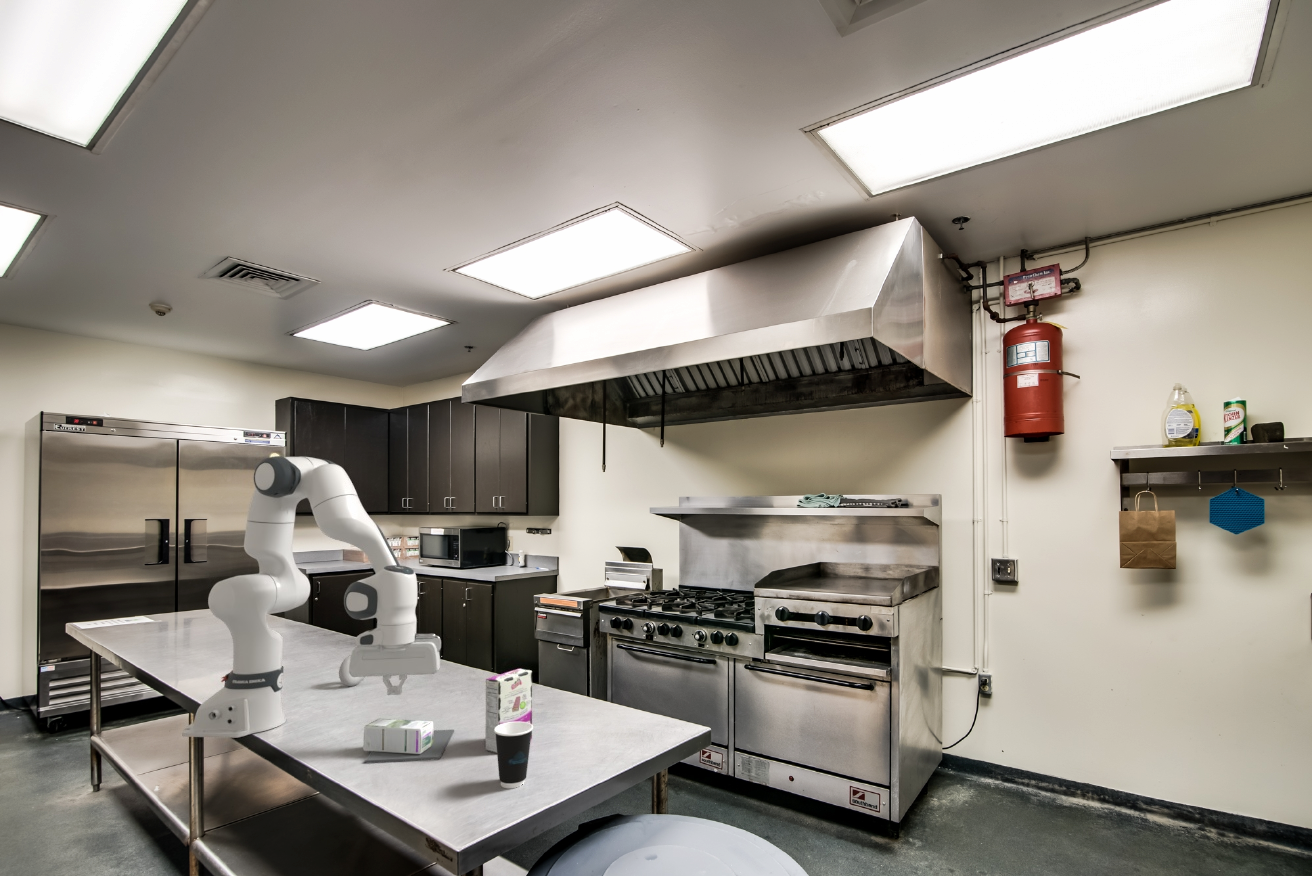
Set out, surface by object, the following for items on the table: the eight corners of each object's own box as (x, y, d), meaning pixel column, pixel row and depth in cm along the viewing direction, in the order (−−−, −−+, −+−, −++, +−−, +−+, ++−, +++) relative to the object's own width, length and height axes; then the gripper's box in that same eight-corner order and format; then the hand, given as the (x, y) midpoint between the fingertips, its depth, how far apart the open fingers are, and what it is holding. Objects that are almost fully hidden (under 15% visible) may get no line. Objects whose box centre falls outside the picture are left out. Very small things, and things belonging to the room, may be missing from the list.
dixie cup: (518, 794, 128) (519, 736, 129) (484, 788, 131) (486, 731, 132) (539, 778, 135) (540, 723, 136) (507, 773, 138) (508, 719, 139)
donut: (342, 690, 200) (344, 657, 202) (335, 689, 202) (337, 656, 203) (370, 682, 209) (371, 650, 210) (363, 681, 211) (364, 649, 212)
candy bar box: (517, 736, 160) (518, 667, 162) (532, 739, 158) (533, 670, 159) (483, 750, 151) (485, 677, 153) (498, 755, 148) (500, 680, 150)
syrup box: (362, 751, 149) (420, 756, 146) (363, 725, 149) (421, 729, 147) (377, 742, 154) (433, 746, 152) (378, 716, 155) (434, 720, 152)
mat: (364, 763, 143) (364, 760, 144) (387, 735, 161) (387, 732, 161) (439, 759, 146) (439, 756, 146) (454, 731, 163) (454, 729, 163)
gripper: (443, 630, 160) (442, 688, 158) (356, 633, 157) (354, 692, 156) (438, 635, 154) (436, 696, 152) (348, 638, 151) (345, 700, 150)
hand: (394, 694), depth 154 cm, fingers closed
